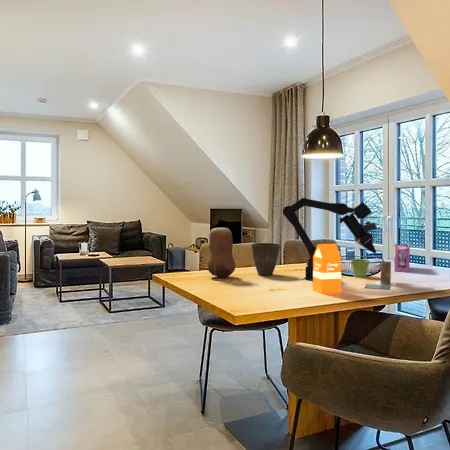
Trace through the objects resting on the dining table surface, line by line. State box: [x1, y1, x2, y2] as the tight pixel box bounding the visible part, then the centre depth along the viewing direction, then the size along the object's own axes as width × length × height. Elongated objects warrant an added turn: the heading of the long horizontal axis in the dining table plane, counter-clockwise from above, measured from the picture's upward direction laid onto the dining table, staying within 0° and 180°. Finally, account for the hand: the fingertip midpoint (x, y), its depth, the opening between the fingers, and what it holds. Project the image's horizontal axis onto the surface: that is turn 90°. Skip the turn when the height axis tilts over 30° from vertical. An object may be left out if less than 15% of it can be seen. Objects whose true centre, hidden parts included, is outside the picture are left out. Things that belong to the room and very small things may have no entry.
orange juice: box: [312, 243, 342, 295], centre depth 183 cm, size 8×9×20 cm
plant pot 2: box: [350, 258, 371, 279], centre depth 222 cm, size 9×9×9 cm
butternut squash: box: [207, 227, 236, 279], centre depth 219 cm, size 14×13×25 cm
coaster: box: [364, 283, 391, 291], centre depth 192 cm, size 10×10×1 cm
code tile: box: [374, 281, 397, 287], centre depth 201 cm, size 9×9×1 cm
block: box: [380, 260, 392, 285], centre depth 201 cm, size 4×5×10 cm
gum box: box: [393, 243, 411, 273], centre depth 252 cm, size 24×8×14 cm, turn 160°
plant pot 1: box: [251, 242, 281, 277], centre depth 229 cm, size 15×15×16 cm
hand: (373, 251), depth 210 cm, fingers open, 9 cm apart
